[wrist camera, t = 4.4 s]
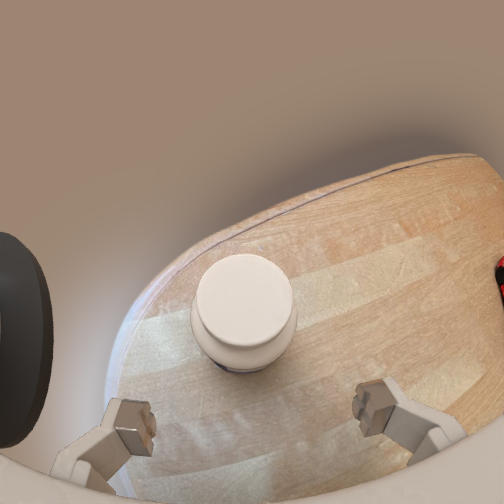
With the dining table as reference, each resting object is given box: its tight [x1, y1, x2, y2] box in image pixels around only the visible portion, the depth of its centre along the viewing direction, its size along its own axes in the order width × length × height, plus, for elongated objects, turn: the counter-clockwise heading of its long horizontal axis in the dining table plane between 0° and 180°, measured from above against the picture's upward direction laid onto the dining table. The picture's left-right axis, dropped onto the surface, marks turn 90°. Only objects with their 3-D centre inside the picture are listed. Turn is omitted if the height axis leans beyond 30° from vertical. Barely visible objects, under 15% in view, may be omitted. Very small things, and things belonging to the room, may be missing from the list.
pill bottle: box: [190, 254, 297, 375], centre depth 16 cm, size 5×5×10 cm
